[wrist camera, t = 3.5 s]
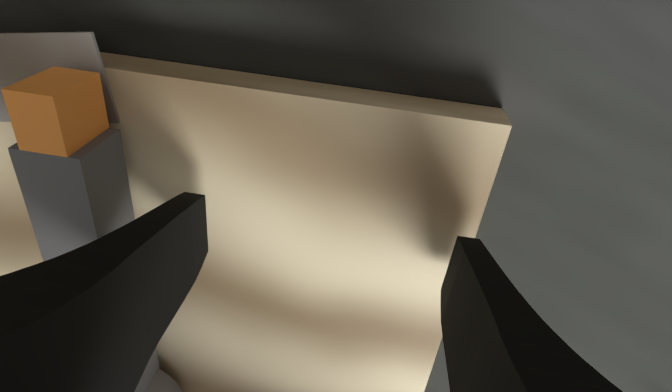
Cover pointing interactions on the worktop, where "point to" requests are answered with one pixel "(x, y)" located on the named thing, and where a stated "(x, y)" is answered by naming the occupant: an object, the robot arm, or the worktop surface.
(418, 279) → the light wood flat board
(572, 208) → the worktop surface
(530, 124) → the worktop surface
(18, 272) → the robot arm
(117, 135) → the grey bar
